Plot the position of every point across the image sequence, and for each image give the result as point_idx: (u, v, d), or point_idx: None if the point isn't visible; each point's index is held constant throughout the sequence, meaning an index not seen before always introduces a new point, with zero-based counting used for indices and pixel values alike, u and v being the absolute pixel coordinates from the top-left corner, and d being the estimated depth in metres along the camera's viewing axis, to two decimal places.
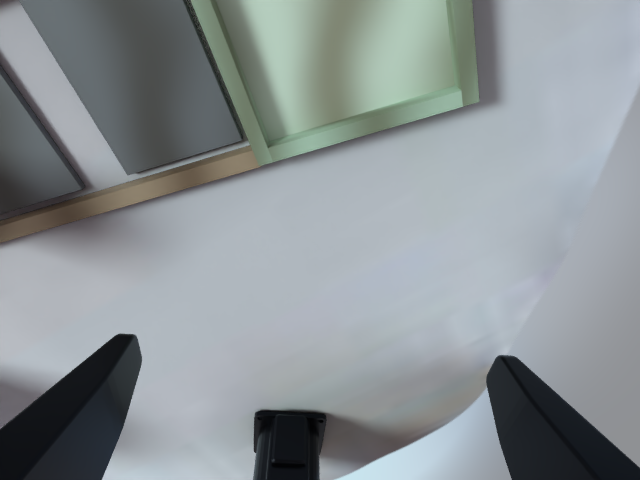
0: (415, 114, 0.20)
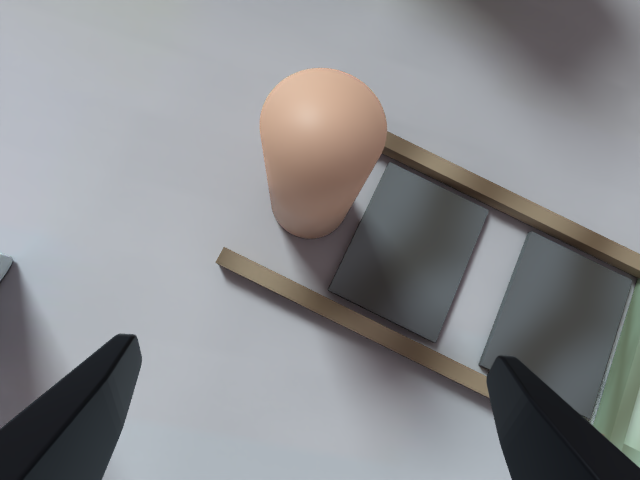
0: None
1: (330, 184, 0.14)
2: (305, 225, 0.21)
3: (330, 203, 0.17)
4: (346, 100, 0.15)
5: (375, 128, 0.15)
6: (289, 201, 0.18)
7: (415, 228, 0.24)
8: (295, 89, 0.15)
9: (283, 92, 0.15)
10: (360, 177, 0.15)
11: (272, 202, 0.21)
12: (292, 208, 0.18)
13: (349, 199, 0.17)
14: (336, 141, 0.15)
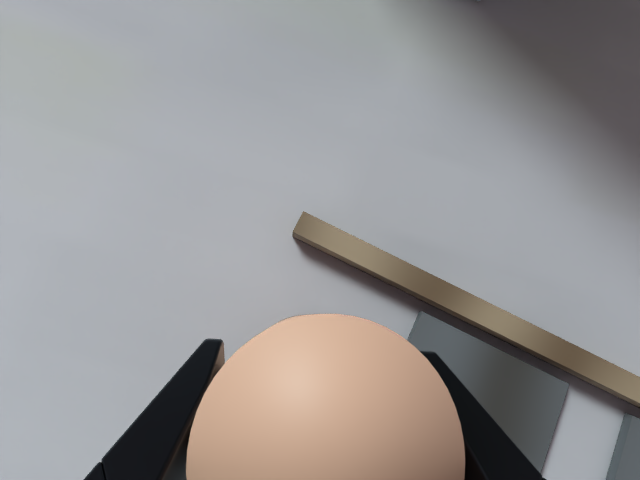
0: None
1: None
2: None
3: None
4: (378, 388, 0.07)
5: (440, 455, 0.07)
6: None
7: None
8: (267, 369, 0.07)
9: (242, 376, 0.07)
10: None
11: None
12: None
13: None
14: None
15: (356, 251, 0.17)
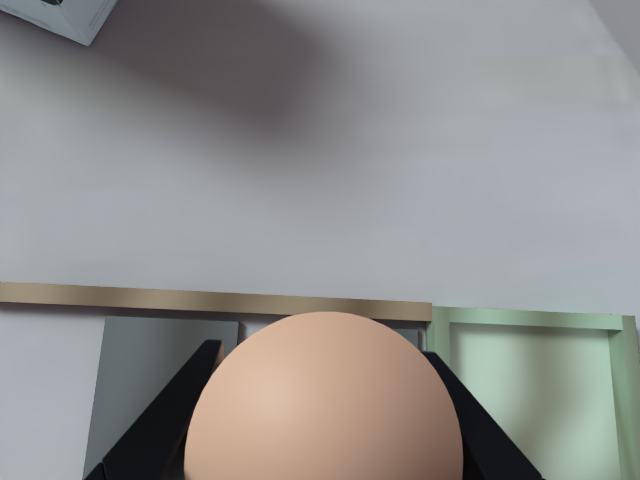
0: None
1: None
2: None
3: None
4: (376, 386, 0.07)
5: (438, 452, 0.07)
6: None
7: (160, 381, 0.21)
8: (265, 366, 0.07)
9: (240, 374, 0.07)
10: None
11: None
12: None
13: None
14: None
15: (29, 293, 0.20)
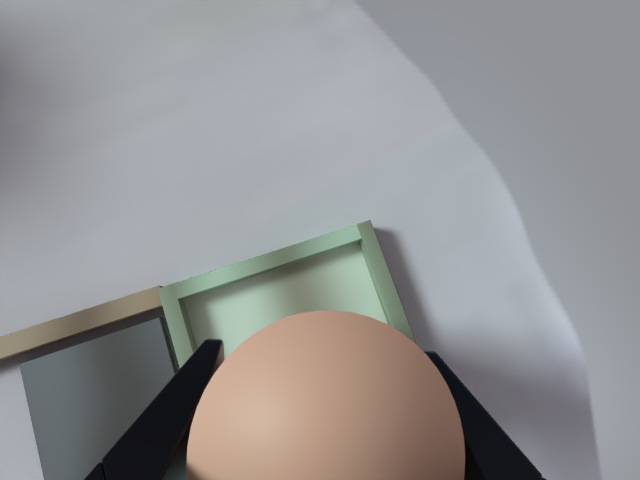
0: None
1: None
2: None
3: None
4: (378, 385, 0.07)
5: (440, 451, 0.07)
6: None
7: None
8: (268, 365, 0.07)
9: (242, 372, 0.07)
10: None
11: None
12: None
13: None
14: None
15: None
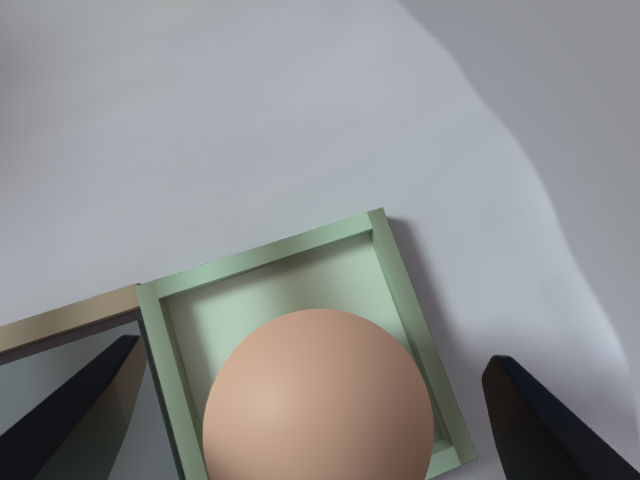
0: None
1: None
2: None
3: None
4: (361, 371, 0.08)
5: (413, 426, 0.08)
6: None
7: None
8: (269, 354, 0.08)
9: (248, 360, 0.08)
10: None
11: None
12: None
13: None
14: (342, 457, 0.08)
15: None
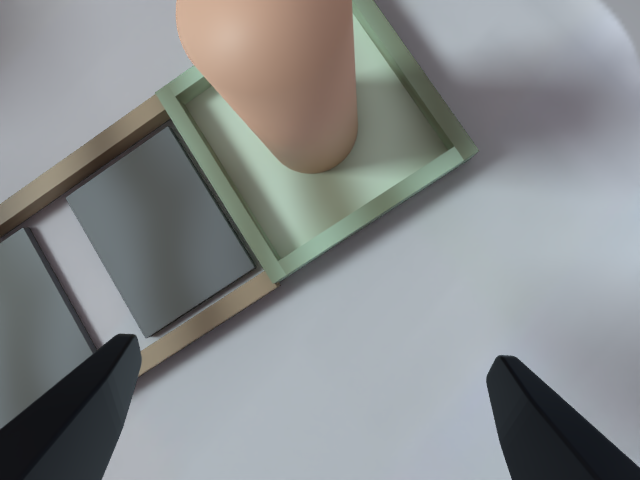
0: (418, 182, 0.19)
1: (288, 84, 0.10)
2: (303, 156, 0.17)
3: (310, 115, 0.13)
4: None
5: None
6: (263, 129, 0.14)
7: None
8: None
9: None
10: (328, 62, 0.10)
11: None
12: (273, 138, 0.15)
13: (337, 104, 0.13)
14: (283, 21, 0.10)
15: None
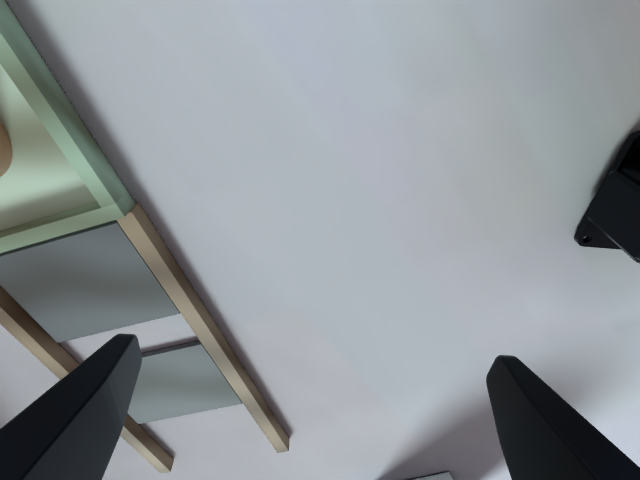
0: None
1: None
2: None
3: None
4: None
5: None
6: None
7: (153, 393, 0.29)
8: None
9: None
10: None
11: None
12: None
13: None
14: None
15: (149, 456, 0.33)
